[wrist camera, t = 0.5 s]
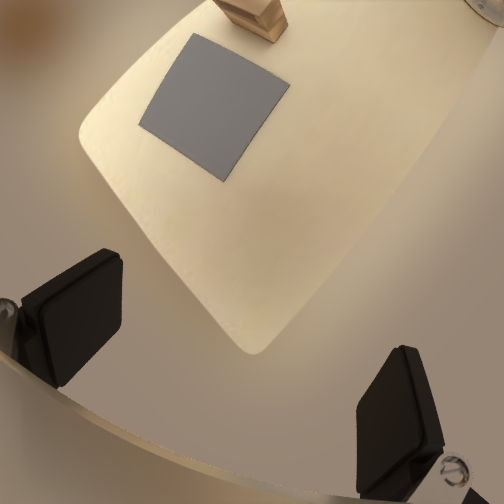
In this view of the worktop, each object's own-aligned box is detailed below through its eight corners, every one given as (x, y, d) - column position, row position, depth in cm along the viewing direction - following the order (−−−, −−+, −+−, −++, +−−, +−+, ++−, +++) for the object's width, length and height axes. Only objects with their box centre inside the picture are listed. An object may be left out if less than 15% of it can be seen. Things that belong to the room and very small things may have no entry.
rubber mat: (194, 33, 31) (193, 32, 31) (290, 85, 32) (289, 84, 31) (139, 124, 37) (138, 124, 36) (224, 181, 37) (223, 181, 37)
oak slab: (246, 4, 29) (224, -27, 20) (288, 25, 29) (277, -7, 21) (232, 22, 30) (206, -6, 22) (273, 43, 30) (258, 16, 22)
